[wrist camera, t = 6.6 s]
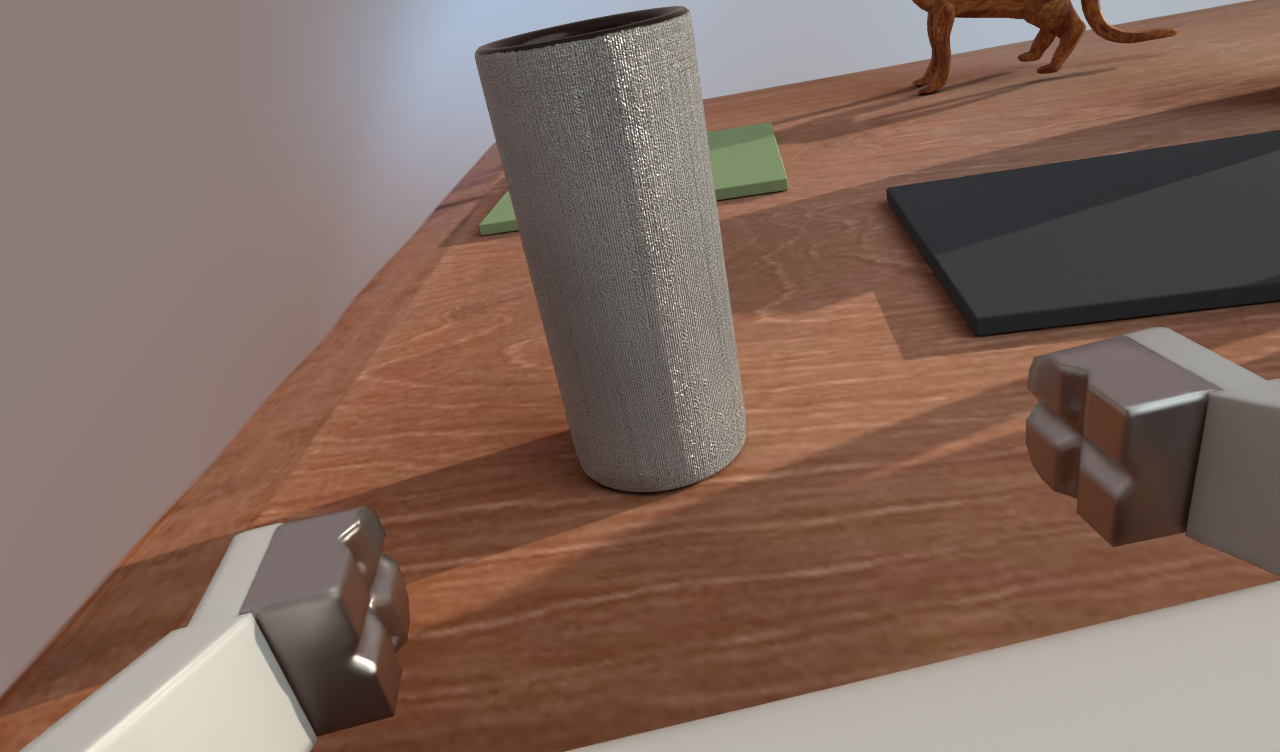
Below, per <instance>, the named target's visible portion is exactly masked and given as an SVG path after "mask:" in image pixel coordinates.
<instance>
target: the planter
mask: <svg viewBox="0 0 1280 752" xmlns="http://www.w3.org/2000/svg"><path fill="white" fill-rule="evenodd" d="M475 60H476V64H477V68H478V72H479V76H480V80H481V84H482V88H483V92H484V96H485V99H486V104H487V107H488V111H489V115H490V119H491V123H492V127H493V131H494V135H495V139H496V143H497V147H498V151H499V154H500V158H501V162H502V166H503V170H504V174H505V178H506V182H507V186H508V190H509V194H510V197H511V201H512V205H513V209H514V213H515V217H516V221H517V225H518V229H519V233H520V237H521V240H522V244H523V248H524V252H525V256H526V260H527V264H528V268H529V272H530V276H531V280H532V283H533V287H534V291H535V295H536V299H537V303H538V307H539V311H540V315H541V319H542V323H543V326H544V330H545V334H546V338H547V342H548V346H549V350H550V354H551V358H552V362H553V366H554V369H555V373H556V377H557V381H558V385H559V389H560V393H561V397H562V401H563V405H564V409H565V412H566V416H567V420H568V424H569V428H570V432H571V436H572V440H573V444H574V447H575V450H576V453H577V456H578V459H579V462H580V465H581V467H582V469H583V471H584V472H585V473H586V474H587V475H588V476H589V477H590V478H592V479H593V480H595V481H596V482H598V483H600V484H602V485H604V486H607V487H610V488H613V489H617V490H622V491H629V492H657V491H665V490H671V489H676V488H680V487H684V486H687V485H690V484H693V483H696V482H698V481H701V480H703V479H706V478H708V477H710V476H711V475H713V474H715V473H717V472H718V471H720V470H721V469H723V468H724V467H725V466H727V465H728V464H729V463H730V462H731V461H732V460H733V459H734V458H735V457H736V456H737V455H738V453H739V452H740V450H741V449H742V447H743V445H744V443H745V440H746V434H747V433H746V418H745V407H744V400H743V393H742V385H741V378H740V371H739V363H738V356H737V349H736V341H735V334H734V327H733V319H732V312H731V305H730V297H729V290H728V283H727V275H726V268H725V261H724V254H723V246H722V239H721V232H720V224H719V217H718V210H717V202H716V195H715V188H714V180H713V173H712V166H711V158H710V151H709V144H708V136H707V129H706V122H705V115H704V107H703V100H702V93H701V86H700V78H699V71H698V64H697V56H696V49H695V42H694V35H693V27H692V21H691V15H690V12H689V10H688V9H687V8H685V7H682V6H673V7H662V8H654V9H647V10H640V11H634V12H627V13H622V14H616V15H610V16H604V17H599V18H594V19H589V20H584V21H578V22H574V23H569V24H564V25H560V26H555V27H550V28H546V29H541V30H537V31H533V32H529V33H525V34H521V35H517V36H513V37H509V38H505V39H502V40H498V41H495V42H492V43H489V44H486V45H483V46H481V47H479V48H478V49H477V51H476V52H475Z"/></svg>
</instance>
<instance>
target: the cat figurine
mask: <svg viewBox="0 0 1280 752" xmlns="http://www.w3.org/2000/svg"><path fill="white" fill-rule="evenodd" d="M912 1H913V2H914V3H915V4H916V5H917V6H919V7H920V8H921V9H923V10H925V11H927V12H928V18H927V19H928V20H927V31H928V36H929V41H930V44H931V47H932V58H931V62H930V64H929V66H928V68H927V70H926V73H925V75H924V76H923V77H922V78H921V79H919V80H916V81H914V82H913V84H914V85H917V86H922V85H926V84H929V83H930V84H929V85H928V86H927V87H925V88H923V89H920V90H918V93H921V94H928V93H932V92H935V91H937V90H939V89H940V88H942V87H943V86H944V85H945V84H946V82H947V81H948V79H949V75H950V69H951V50H950V33H951V30H952V26H953V23H954V18H955V17H958V18H959V17H961V18H1015V19H1024V20H1026V22H1028V23H1030V24H1032V25H1035V26H1036V27H1038V28H1040V31H1039V33H1038V34H1037V36H1036V37H1035V39H1034V41H1033V43H1032V46H1031V49H1030V51H1029V52H1026V53H1024V54H1021V55H1019V56H1018V59H1019V60H1020V61H1022V62H1028V61H1035V60H1039V59H1040V58H1041V57H1042V55H1043V53H1044V52H1045V50H1046V49H1047V48H1048V47H1049V46H1050V45H1051V43H1052V42H1053V41H1054V39H1055V37H1056V36H1057V37H1059V38H1060V44H1059V46H1058V47H1057V49H1056V51H1055V53H1054V55H1053V58H1052V60H1051V63H1050V64H1048V65H1045V66H1042V67H1040V68H1038V69H1037V73H1039V74H1045V73H1053V72H1057V71H1058V70H1059V69H1060V68H1061V66H1062V64H1063V63H1064V62H1065V60H1066V59H1067V58H1068V57H1069V55H1070V54H1071V53H1072V51H1073V50H1074V48H1075V47H1076V45H1077V44H1078V42H1079V41H1080V39H1081V37H1082V36H1083V34H1084V32H1085V30H1086V25H1085V23H1084V22H1083V21H1082V20H1081V18H1080V17H1079V15H1078V14H1077V13H1076V11H1075V9H1074V7H1073V5H1072V3H1071V1H1070V0H912ZM1081 5H1082V10H1083V13H1084V16H1085V18H1086V20H1087V22H1088V24H1089V25H1090V27H1091V28H1092V29H1093V31H1094V32H1095V33H1096V34H1097V35H1099V36H1100V37H1102V38H1104V39H1106V40H1109V41H1113V42H1116V43H1136V42H1143V41H1149V40H1154V39H1160V38H1165V37H1170V36H1174V35H1176V34H1177V33H1178V31H1177V29H1173V28H1159V29H1151V30H1141V31H1130V30H1123V29H1119V28H1116V27H1113V26H1112V25H1110V24H1109V23H1108V22H1107V21H1106V20H1105V18H1104V16H1103V13H1102V11H1101V7H1100V1H1099V0H1081Z"/></svg>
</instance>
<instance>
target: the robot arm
mask: <svg viewBox="0 0 1280 752" xmlns="http://www.w3.org/2000/svg"><path fill="white" fill-rule="evenodd" d="M1028 389H1029V391H1030V392H1031V393H1032V394H1033V395H1034V396H1035V397H1036V399H1037V400H1038V401H1039V402H1038V403H1037V405H1036V406H1035V408H1034V409H1033V411H1032V412H1031V414H1030V415H1029V416H1028V418H1027V419H1026V445H1027V448H1028V452H1029V455H1030V458H1031V462H1032V464H1033V466H1034V468H1035V469H1036V471H1037V473H1038V474H1039V476H1040V477H1041V479H1042V480H1043V481H1044V482H1045V483H1046V484H1047V485H1048V486H1049V487H1050V488H1051V489H1052V490H1053V491H1056V492H1059V493H1062V494H1065V495H1068V496H1071V497H1074V498H1077V511H1076V513H1077V514H1078V515H1080V516H1081V517H1082V518H1083V519H1084V520H1085V521H1086V522H1087V523H1088V524H1089V525H1090V526H1091V527H1092V528H1093V529H1094V530H1095V531H1097V532H1098V533H1099V534H1100V535H1101V536H1102V537H1103V538H1104V539H1105V540H1106V541H1107V542H1108V543H1109V544H1110V545H1111V546H1112V547H1116V546H1121V545H1125V544H1130V543H1135V542H1140V541H1145V540H1150V539H1154V538H1159V537H1164V536H1169V535H1174V534H1179V533H1183V532H1186V536H1188V537H1190V538H1193V539H1195V540H1197V541H1199V542H1202V543H1204V544H1206V545H1209V546H1211V547H1213V548H1216V549H1218V550H1220V551H1223V552H1225V553H1227V554H1230V555H1232V556H1234V557H1237V558H1239V559H1241V560H1244V561H1246V562H1248V563H1251V564H1253V565H1255V566H1257V567H1260V568H1262V569H1264V570H1267V571H1269V572H1271V573H1274V574H1276V575H1278V576H1280V378H1276V379H1272V380H1265V379H1263V378H1262V377H1260V376H1258V375H1256V374H1254V373H1252V372H1250V371H1248V370H1246V369H1245V368H1243V367H1241V366H1239V365H1237V364H1235V363H1233V362H1231V361H1229V360H1227V359H1226V358H1224V357H1222V356H1220V355H1218V354H1216V353H1214V352H1212V351H1210V350H1209V349H1207V348H1205V347H1203V346H1201V345H1199V344H1197V343H1195V342H1193V341H1191V340H1190V339H1188V338H1186V337H1184V336H1182V335H1180V334H1178V333H1176V332H1174V331H1173V330H1171V329H1169V328H1164V327H1150V328H1146V329H1142V330H1139V331H1135V332H1131V333H1127V334H1123V335H1120V336H1116V337H1113V338H1109V339H1105V340H1101V341H1097V342H1093V343H1089V344H1085V345H1081V346H1077V347H1073V348H1069V349H1065V350H1061V351H1057V352H1053V353H1049V354H1045V355H1041V356H1038V357H1034V359H1033V362H1032V364H1031V367H1030V369H1029V378H1028ZM385 535H386V533H385V531H384V528H383V526H382V524H381V522H380V520H379V517H378V515H377V513H376V511H375V510H373V509H372V508H371V507H370V506H368V505H366V506H361V507H356V508H352V509H347V510H342V511H337V512H332V513H327V514H322V515H317V516H312V517H307V518H303V519H298V520H293V521H288V522H285V523H276V524H272V525H268V526H264V527H260V528H256V529H251V530H247V531H244V532H242V533H239V534H237V535H235V536H234V538H233V540H232V541H231V543H230V545H229V547H228V549H227V551H226V553H225V555H224V557H223V559H222V561H221V563H220V564H219V566H218V568H217V570H216V572H215V574H214V576H213V578H212V580H211V582H210V584H209V586H208V587H207V589H206V591H205V593H204V595H203V597H202V599H201V601H200V603H199V605H198V607H197V609H196V610H195V612H194V614H193V616H192V618H191V620H190V622H189V624H188V626H187V627H185V628H181V629H177V630H173V631H171V632H170V633H169V634H167V635H166V636H165V637H164V638H162V639H161V640H160V641H159V642H157V643H156V644H155V645H154V646H152V647H151V648H150V649H148V650H147V651H146V652H145V653H143V654H142V655H141V656H140V657H138V658H137V659H136V660H134V661H133V662H132V663H131V664H129V665H128V666H127V667H126V668H124V669H123V670H122V671H120V672H119V673H118V674H117V675H115V676H114V677H113V678H112V679H110V680H109V681H108V682H107V683H105V684H104V685H103V686H101V687H100V688H99V689H98V690H96V691H95V692H94V693H93V694H91V695H90V696H89V697H87V698H86V699H85V700H84V701H82V702H81V703H80V704H79V705H77V706H76V707H75V708H73V709H72V710H71V711H70V712H68V713H67V714H66V715H65V716H63V717H62V718H61V719H60V720H58V721H57V722H56V723H54V724H53V725H52V726H51V727H49V728H48V729H47V730H46V731H44V732H43V733H42V734H40V735H39V736H38V737H37V738H35V739H34V740H33V741H32V742H30V743H29V744H28V745H26V746H25V747H24V748H23V749H21V750H20V751H19V752H310V751H311V750H312V748H313V747H314V746H315V744H316V743H317V742H318V738H317V736H321V735H324V734H328V733H332V732H336V731H340V730H343V729H347V728H351V727H355V726H358V725H362V724H366V723H370V722H374V721H377V720H381V719H385V718H389V717H393V716H394V714H395V708H396V702H397V697H398V691H399V685H400V680H401V674H402V668H401V665H400V663H399V661H398V658H397V656H396V652H397V651H398V650H399V649H400V648H401V647H402V646H403V645H404V643H405V642H406V641H407V639H408V632H409V625H410V614H409V598H408V594H407V590H406V586H405V581H404V578H403V575H402V573H401V570H400V568H399V565H398V563H397V562H395V561H394V560H392V559H391V558H389V557H387V556H386V555H384V554H383V553H381V552H382V548H383V543H384V539H385ZM565 752H1280V581H1276V582H1272V583H1267V584H1263V585H1259V586H1255V587H1251V588H1246V589H1242V590H1238V591H1234V592H1230V593H1226V594H1221V595H1217V596H1213V597H1209V598H1205V599H1200V600H1196V601H1192V602H1188V603H1184V604H1179V605H1175V606H1171V607H1167V608H1163V609H1159V610H1154V611H1150V612H1146V613H1142V614H1138V615H1133V616H1129V617H1125V618H1121V619H1117V620H1112V621H1108V622H1104V623H1100V624H1096V625H1092V626H1087V627H1083V628H1079V629H1075V630H1071V631H1066V632H1062V633H1058V634H1054V635H1050V636H1045V637H1041V638H1037V639H1033V640H1029V641H1025V642H1020V643H1016V644H1012V645H1008V646H1004V647H999V648H995V649H991V650H987V651H983V652H978V653H974V654H970V655H966V656H962V657H958V658H953V659H949V660H945V661H941V662H937V663H933V664H929V665H924V666H920V667H916V668H912V669H908V670H904V671H900V672H895V673H891V674H887V675H883V676H879V677H875V678H871V679H866V680H862V681H858V682H854V683H850V684H846V685H841V686H837V687H833V688H829V689H825V690H820V691H816V692H812V693H808V694H804V695H799V696H795V697H791V698H787V699H783V700H779V701H774V702H770V703H766V704H762V705H758V706H753V707H749V708H745V709H741V710H737V711H732V712H728V713H724V714H720V715H716V716H712V717H707V718H703V719H699V720H695V721H691V722H686V723H682V724H678V725H674V726H670V727H665V728H661V729H657V730H653V731H649V732H645V733H640V734H636V735H632V736H628V737H624V738H619V739H615V740H611V741H607V742H603V743H598V744H594V745H590V746H586V747H582V748H578V749H573V750H569V751H565Z"/></svg>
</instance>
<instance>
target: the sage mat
mask: <svg viewBox="0 0 1280 752" xmlns="http://www.w3.org/2000/svg"><path fill="white" fill-rule="evenodd" d="M707 136H708V144H709V151H710V158H711V166H712V173H713V180H714V188H715V195H716V201H717V200H723V199H730V198H737V197H743V196H750V195H757V194H763V193H770V192H777V191H783V190H788V180H787V176H786V173H785V169H784V166H783V162H782V159H781V156H780V152H779V149H778V146H777V142H776V139H775V135H774V132H773V129H772V125H771V123H770V122H769V123H763V124H757V125H750V126H744V127H738V128H732V129H726V130H720V131H714V132H708V133H707ZM479 229H480V233H481V235H482V236H483V235H490V234H496V233H503V232H510V231H516V230H519V229H518V225H517V221H516V217H515V213H514V209H513V205H512V201H511V197H510V194H509V190H508V191H507V192H506V193H505V194H504V196H503V197H502V198H501V199H500V200H499V202H498V203H497V204H496V205H495V206H494V207H493V209H492V210H491V211H490V212H489V213H488V215H487V216H486V217H485V218H484V219H483V221H482V222H481V223H480V224H479Z"/></svg>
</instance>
